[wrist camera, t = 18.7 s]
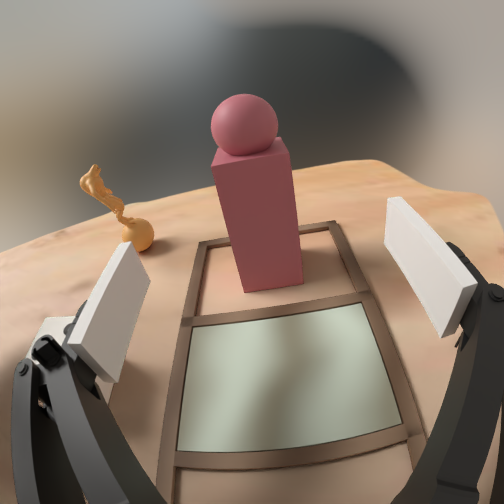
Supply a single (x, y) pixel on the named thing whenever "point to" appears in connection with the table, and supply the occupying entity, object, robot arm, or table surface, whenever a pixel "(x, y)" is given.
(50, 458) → the robot arm
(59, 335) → the die
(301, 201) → the table surface
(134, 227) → the figurine
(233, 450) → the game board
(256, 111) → the pawn
